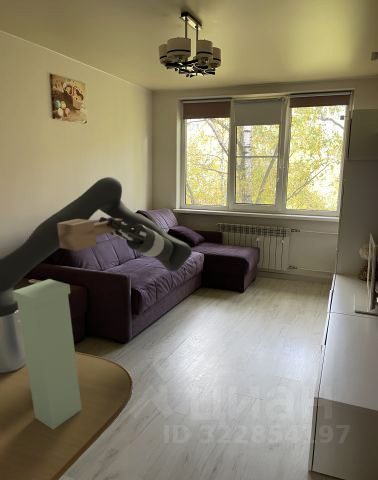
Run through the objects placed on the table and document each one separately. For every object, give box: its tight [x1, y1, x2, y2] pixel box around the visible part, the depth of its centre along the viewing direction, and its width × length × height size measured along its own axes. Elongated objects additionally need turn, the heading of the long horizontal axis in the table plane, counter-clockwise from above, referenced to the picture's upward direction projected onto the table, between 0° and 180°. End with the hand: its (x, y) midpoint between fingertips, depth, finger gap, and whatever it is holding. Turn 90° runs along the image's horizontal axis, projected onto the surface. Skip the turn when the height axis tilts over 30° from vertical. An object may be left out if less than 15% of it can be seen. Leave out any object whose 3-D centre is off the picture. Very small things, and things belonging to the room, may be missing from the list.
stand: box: [13, 278, 83, 430], centre depth 85 cm, size 8×9×32 cm
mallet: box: [57, 219, 123, 251], centre depth 93 cm, size 6×17×6 cm, turn 144°
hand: (104, 221), depth 95 cm, fingers closed on mallet, 2 cm apart
